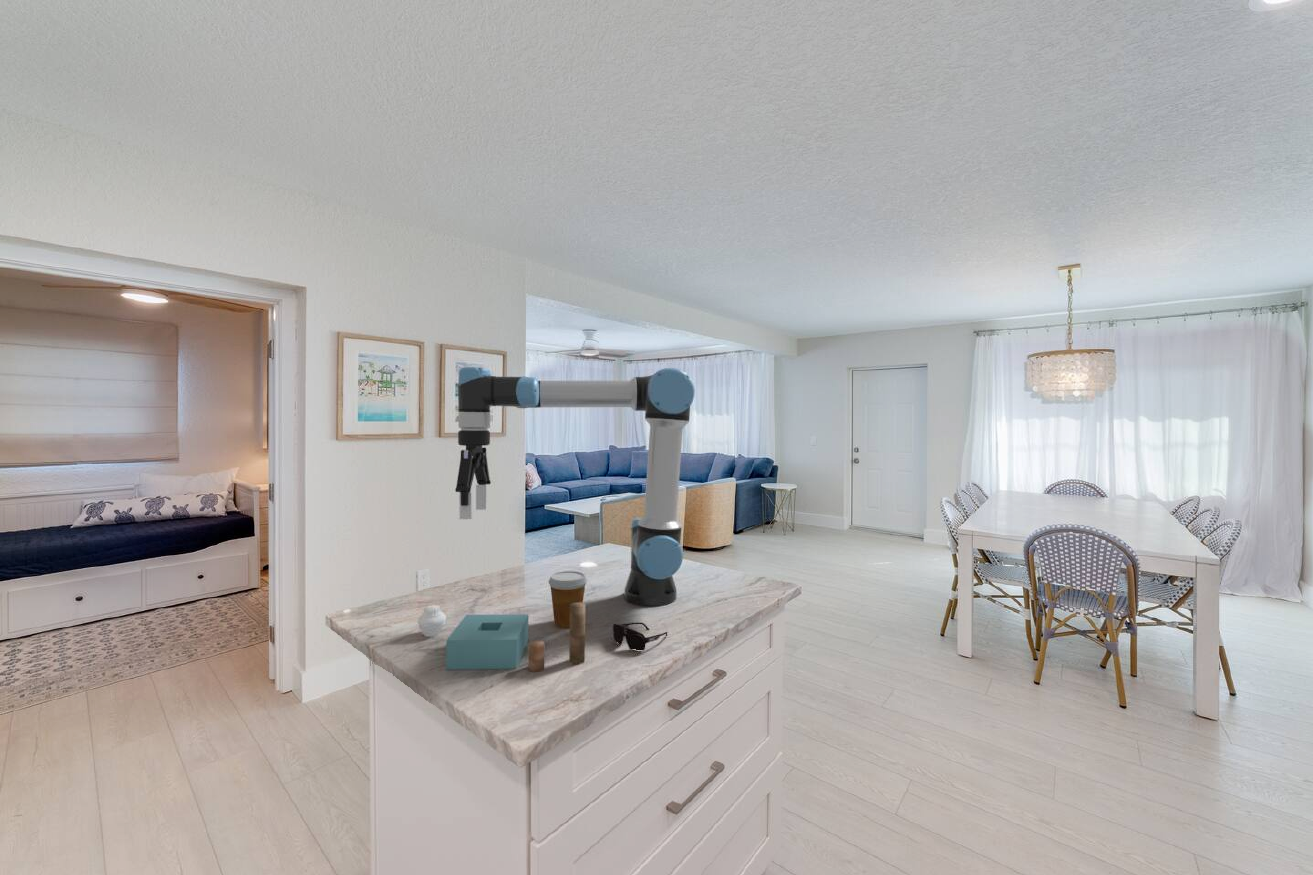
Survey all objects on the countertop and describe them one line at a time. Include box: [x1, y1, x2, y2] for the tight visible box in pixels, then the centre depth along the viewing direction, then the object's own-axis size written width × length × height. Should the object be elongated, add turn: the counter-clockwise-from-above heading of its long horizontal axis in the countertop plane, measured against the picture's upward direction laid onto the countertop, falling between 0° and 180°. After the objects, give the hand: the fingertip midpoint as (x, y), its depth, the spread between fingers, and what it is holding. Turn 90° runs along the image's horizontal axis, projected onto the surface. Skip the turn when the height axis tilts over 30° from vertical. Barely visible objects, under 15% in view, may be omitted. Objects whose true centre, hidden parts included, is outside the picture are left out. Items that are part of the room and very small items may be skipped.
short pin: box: [527, 640, 546, 673], centre depth 107 cm, size 3×3×5 cm
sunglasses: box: [612, 622, 668, 652], centre depth 122 cm, size 10×12×5 cm
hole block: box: [445, 613, 530, 671], centre depth 114 cm, size 14×14×6 cm
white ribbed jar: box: [417, 604, 447, 638], centre depth 123 cm, size 6×6×7 cm
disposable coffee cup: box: [548, 570, 588, 629], centre depth 132 cm, size 10×10×12 cm
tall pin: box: [568, 602, 586, 665], centre depth 111 cm, size 3×3×12 cm
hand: (474, 514), depth 132 cm, fingers open, 13 cm apart
